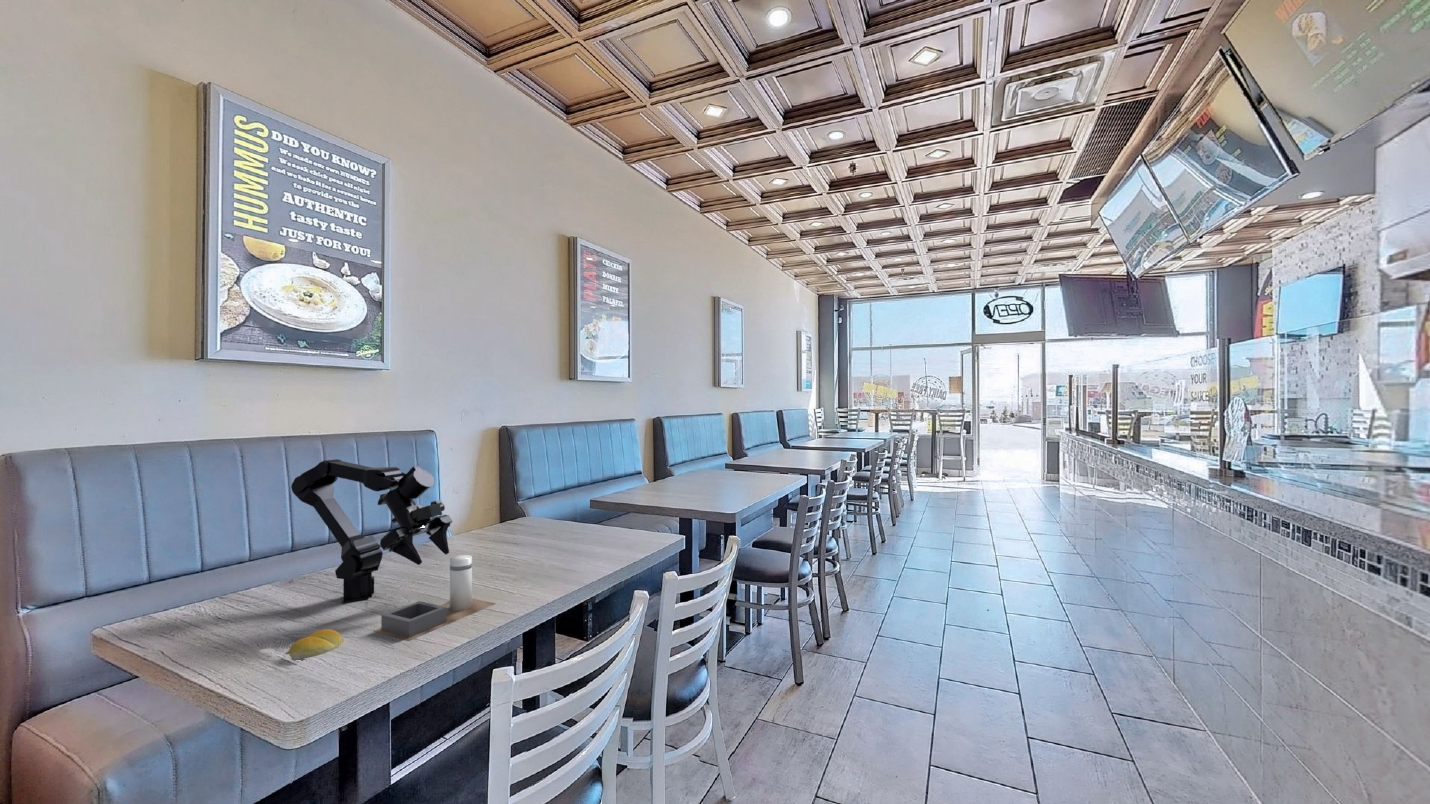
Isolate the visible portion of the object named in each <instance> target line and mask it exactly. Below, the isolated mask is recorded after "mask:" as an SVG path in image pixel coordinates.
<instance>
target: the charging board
mask: <svg viewBox="0 0 1430 804" xmlns="http://www.w3.org/2000/svg"><path fill="white" fill-rule="evenodd" d="M496 604H497V603H496V602H490V601H487V600H482V599H481V600H480V599H477V598H473V597H472V606H471V608H469V609H466V610H463V611H451V610H450V601H447V602H445V603H443V604H440V605H439V604H438V605H439V606H443V607H447V622H446V623H443V624H441V625H439V626H436V627H434V628H431V629H429V630H427V631H424V632H422V633H420V634H417V635H415V636H413V637H410V638H408V637H404V636H400V635H397V634H393V633H389V632H386V631H382V630H381V627H380V628H378V629H374V630H373V632H375V633H379V634H382V635H386V636H389V637H393V638H396V639H400V640H404V641H407V642H410V641H412V640H413V641H414V640H415V639H417V638H419V637H422V636H424V635H426V634H428V633H430V632H431V633H432V632H433V631H436V630H438V629H440V628H443V627H444V626H448V625H450V624H453V623H454V622H457V621H459V620H461V619H464V618H465V617H468V616H471V615H473V614H475V613H477V612H480V611H482V610H484V609H487V608H489V607H492V606H494V605H496Z"/></svg>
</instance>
